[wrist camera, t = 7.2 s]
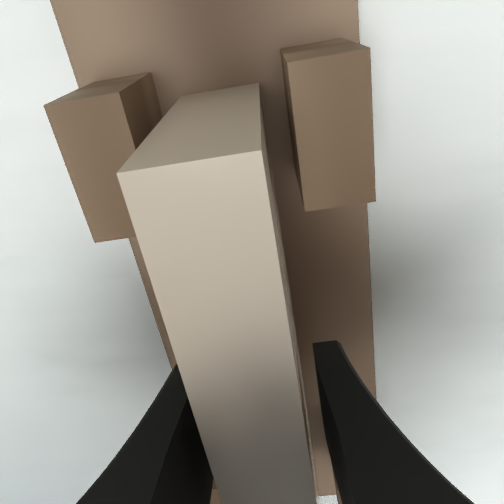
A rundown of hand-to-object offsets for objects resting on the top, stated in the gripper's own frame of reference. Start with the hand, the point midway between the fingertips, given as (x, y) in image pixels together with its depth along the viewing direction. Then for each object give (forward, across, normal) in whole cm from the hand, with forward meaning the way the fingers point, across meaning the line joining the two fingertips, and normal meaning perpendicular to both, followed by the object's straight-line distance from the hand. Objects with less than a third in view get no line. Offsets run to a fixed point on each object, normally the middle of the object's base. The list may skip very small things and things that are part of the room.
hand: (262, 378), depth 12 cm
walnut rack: (+4, 0, 0) cm, 4 cm away
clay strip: (+3, 0, 0) cm, 3 cm away
